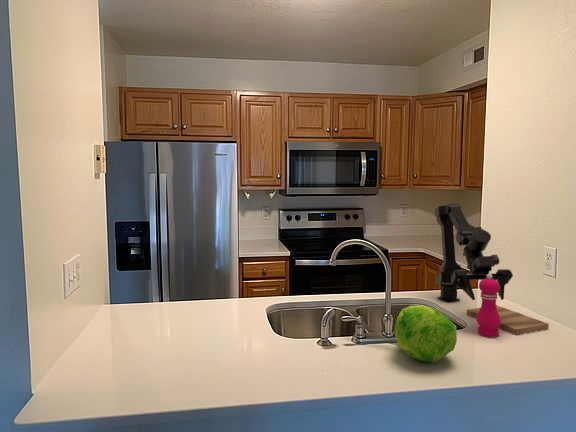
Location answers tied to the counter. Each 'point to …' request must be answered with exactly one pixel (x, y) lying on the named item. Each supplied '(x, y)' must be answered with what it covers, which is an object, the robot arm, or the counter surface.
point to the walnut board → (514, 321)
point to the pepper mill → (488, 308)
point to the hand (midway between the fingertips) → (488, 299)
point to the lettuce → (425, 333)
